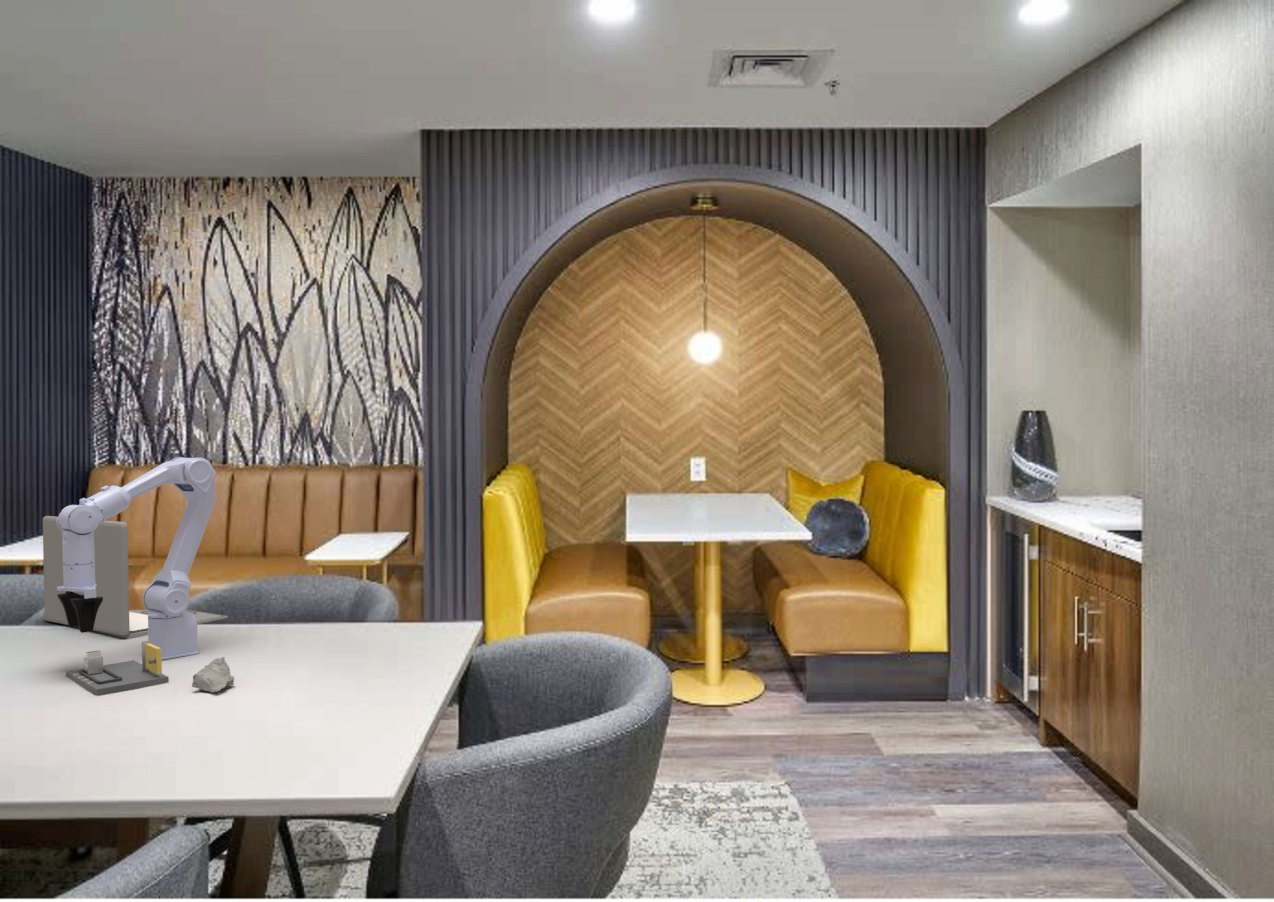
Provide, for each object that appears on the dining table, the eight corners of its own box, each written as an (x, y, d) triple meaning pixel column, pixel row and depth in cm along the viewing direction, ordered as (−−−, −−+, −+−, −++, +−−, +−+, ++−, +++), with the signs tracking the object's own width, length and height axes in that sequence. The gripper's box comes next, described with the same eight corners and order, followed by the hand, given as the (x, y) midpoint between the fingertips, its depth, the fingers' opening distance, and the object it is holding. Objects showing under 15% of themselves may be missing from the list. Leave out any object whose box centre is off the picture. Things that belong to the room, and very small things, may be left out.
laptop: (229, 625, 254) (228, 513, 253) (122, 646, 230) (120, 522, 229) (149, 612, 273) (147, 508, 272) (43, 630, 249) (40, 516, 248)
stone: (249, 676, 199) (249, 655, 199) (220, 694, 187) (220, 672, 187) (218, 675, 199) (218, 654, 199) (187, 693, 187) (187, 671, 187)
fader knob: (99, 670, 201) (98, 649, 201) (103, 672, 199) (102, 651, 199) (84, 672, 199) (83, 651, 199) (87, 674, 197) (87, 653, 197)
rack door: (149, 667, 200) (149, 643, 200) (161, 673, 195) (161, 648, 195) (139, 669, 199) (139, 644, 198) (151, 675, 194) (151, 649, 194)
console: (133, 665, 210) (133, 632, 210) (168, 682, 196) (168, 646, 196) (65, 677, 201) (64, 641, 200) (97, 695, 187) (96, 657, 186)
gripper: (47, 562, 205) (48, 627, 205) (67, 569, 194) (69, 637, 195) (84, 558, 210) (86, 622, 210) (106, 565, 199) (108, 631, 200)
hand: (80, 629), depth 203 cm, fingers open, 7 cm apart
